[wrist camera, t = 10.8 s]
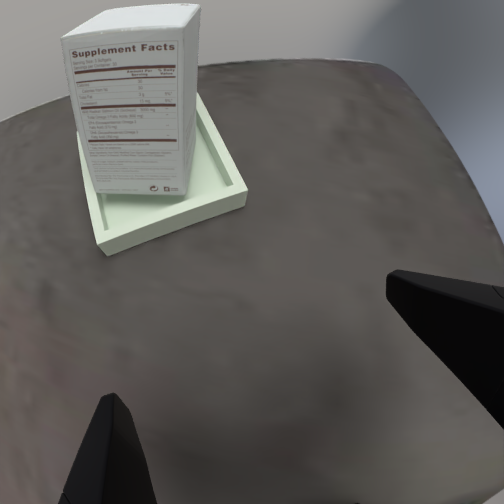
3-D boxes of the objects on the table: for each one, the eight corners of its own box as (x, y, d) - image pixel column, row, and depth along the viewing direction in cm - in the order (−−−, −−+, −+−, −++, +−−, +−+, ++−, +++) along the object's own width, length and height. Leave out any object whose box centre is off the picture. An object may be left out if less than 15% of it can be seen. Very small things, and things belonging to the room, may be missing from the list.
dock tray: (244, 206, 26) (247, 190, 23) (107, 256, 23) (97, 244, 20) (197, 110, 29) (197, 92, 26) (84, 148, 26) (76, 132, 24)
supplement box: (118, 139, 26) (105, 8, 16) (197, 141, 27) (204, 2, 16) (92, 196, 22) (56, 36, 11) (186, 199, 22) (187, 22, 12)
